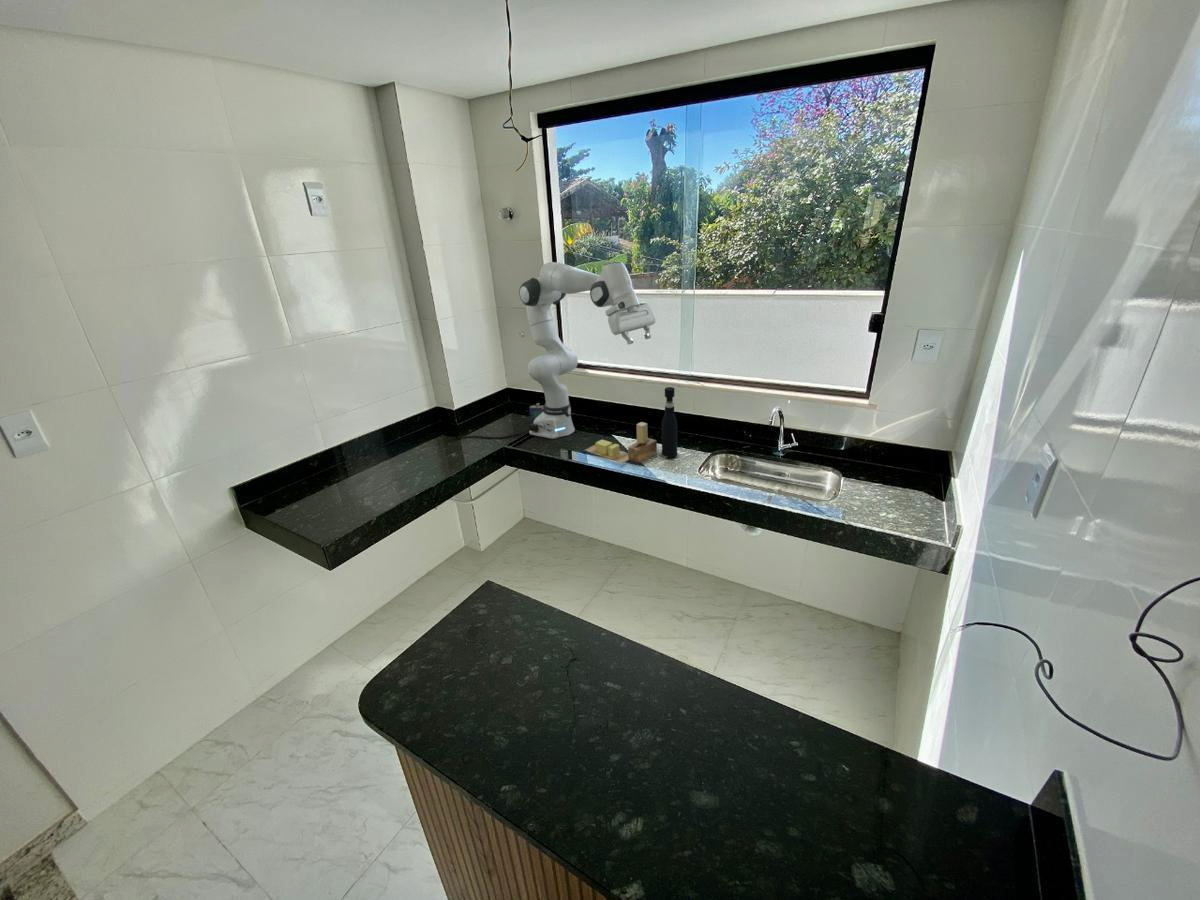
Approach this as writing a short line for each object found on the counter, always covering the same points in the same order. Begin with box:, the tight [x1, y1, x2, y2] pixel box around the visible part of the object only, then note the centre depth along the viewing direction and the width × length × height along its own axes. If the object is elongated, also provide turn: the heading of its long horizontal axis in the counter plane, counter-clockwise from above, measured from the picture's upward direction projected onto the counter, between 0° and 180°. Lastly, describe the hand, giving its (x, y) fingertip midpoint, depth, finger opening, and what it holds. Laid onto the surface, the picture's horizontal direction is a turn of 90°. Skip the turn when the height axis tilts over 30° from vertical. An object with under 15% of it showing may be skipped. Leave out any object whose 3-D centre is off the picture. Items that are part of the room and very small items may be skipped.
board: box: [584, 444, 630, 464], centre depth 211 cm, size 22×9×1 cm, turn 48°
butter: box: [594, 439, 613, 454], centre depth 212 cm, size 6×4×4 cm
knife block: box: [627, 437, 658, 464], centre depth 205 cm, size 6×12×7 cm, turn 138°
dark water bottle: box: [661, 386, 678, 460], centre depth 200 cm, size 6×6×30 cm
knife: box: [636, 421, 650, 448], centre depth 203 cm, size 3×8×16 cm, turn 138°
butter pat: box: [608, 443, 621, 457], centre depth 208 cm, size 2×4×4 cm, turn 138°
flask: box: [528, 402, 544, 424], centre depth 247 cm, size 9×3×11 cm, turn 87°
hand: (639, 341), depth 178 cm, fingers open, 8 cm apart
